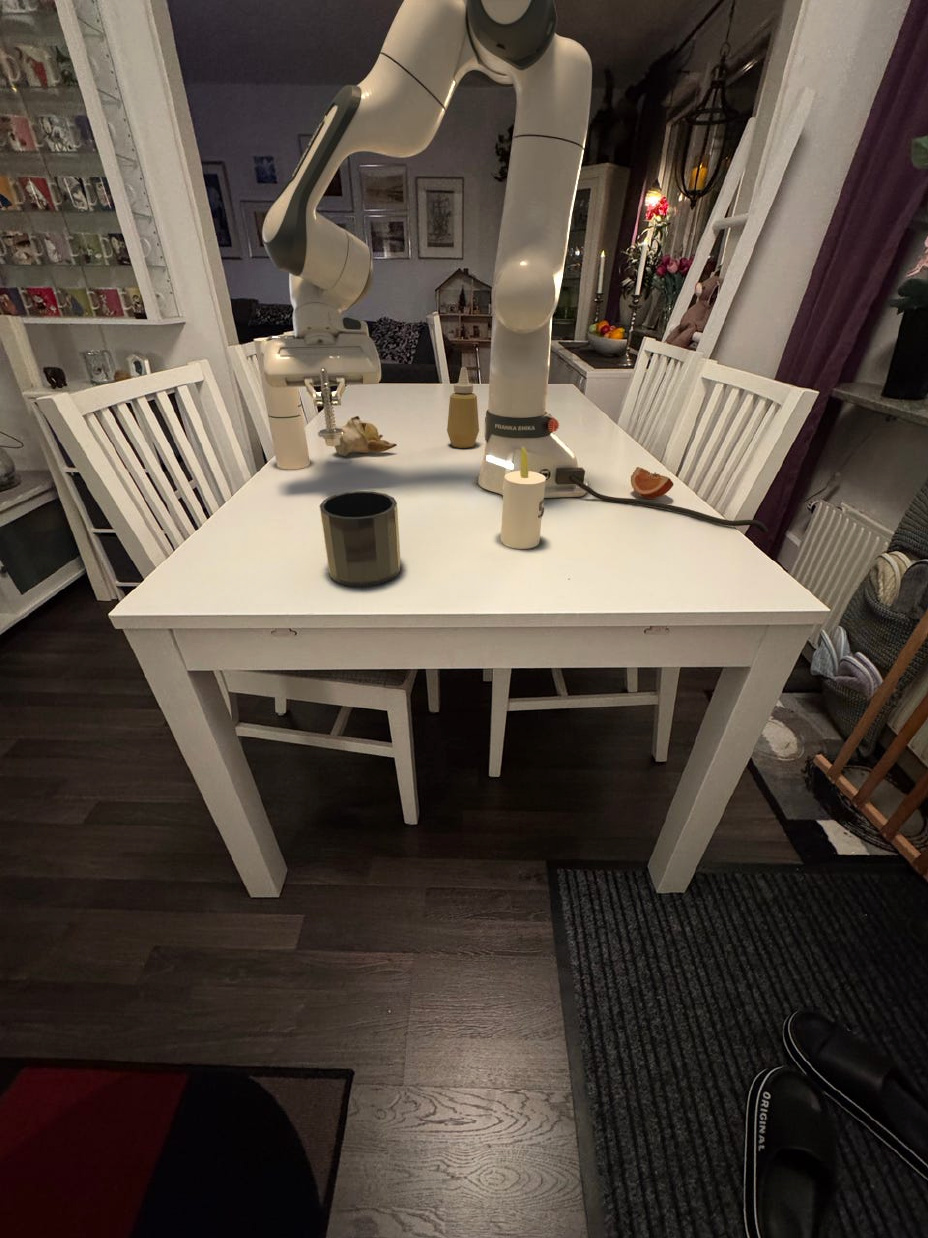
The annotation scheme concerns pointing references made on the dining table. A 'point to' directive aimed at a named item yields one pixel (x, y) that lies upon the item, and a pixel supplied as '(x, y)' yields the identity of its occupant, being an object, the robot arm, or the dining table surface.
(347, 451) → the ceramic sculpture
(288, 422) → the cylindrical container
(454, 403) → the squeeze bottle
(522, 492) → the candle
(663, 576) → the dining table surface
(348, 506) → the holder
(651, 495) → the fruit slice
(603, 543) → the dining table surface
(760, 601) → the dining table surface
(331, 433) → the screw
